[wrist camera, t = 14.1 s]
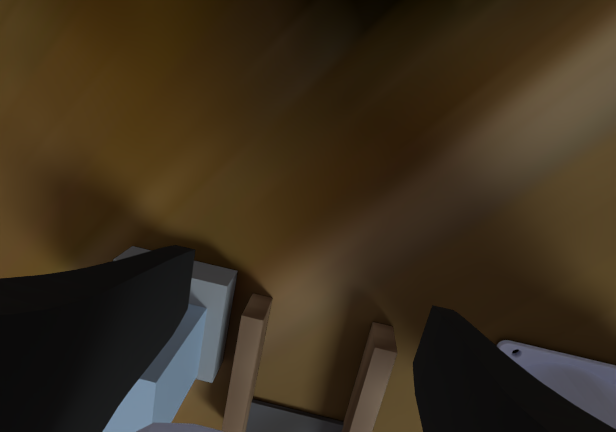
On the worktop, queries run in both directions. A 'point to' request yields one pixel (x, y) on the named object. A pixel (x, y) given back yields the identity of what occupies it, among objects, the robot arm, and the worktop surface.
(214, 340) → the stand
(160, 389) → the block
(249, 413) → the channel
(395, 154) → the worktop surface
